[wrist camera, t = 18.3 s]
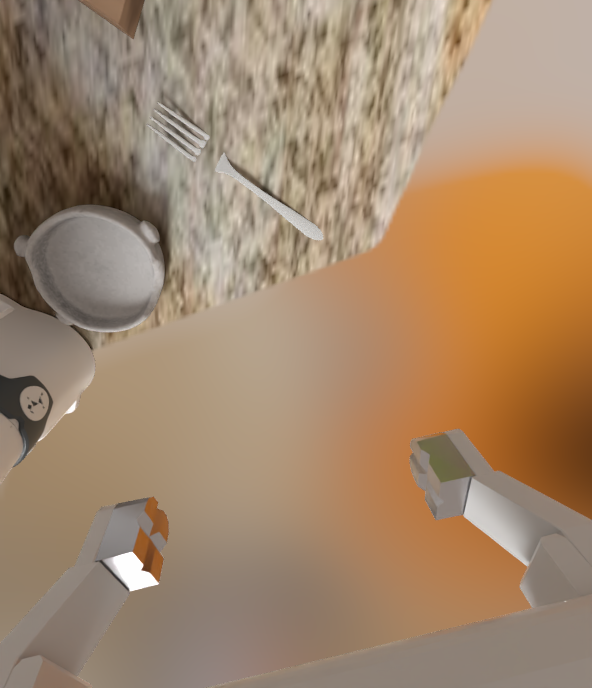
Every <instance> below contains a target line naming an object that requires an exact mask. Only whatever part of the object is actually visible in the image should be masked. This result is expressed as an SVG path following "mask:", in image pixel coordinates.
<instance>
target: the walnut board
mask: <svg viewBox="0 0 592 688" xmlns="http://www.w3.org/2000/svg"><path fill="white" fill-rule="evenodd" d="M79 1H80V2H82V3H83V4H84V5H86V6H87V7H89V8H90V9H91V10H93V11H94V12H96V13H97V14H98V15H100V16H101V17H103V18H104V19H106V20H107V21H108V22H110V23H111V24H113V25H114V26H115V27H117V28H118V29H120V30H121V31H122V32H124V33H125V34H127V35H128V36H130V37H131V38H132V39H134V35H135V32H136V28H137V25H138V21H139V18H140V14H141V11H142V7H143V4H144V1H145V0H79Z"/></svg>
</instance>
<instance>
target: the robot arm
mask: <svg viewBox="0 0 592 688" xmlns="http://www.w3.org/2000/svg"><path fill="white" fill-rule="evenodd" d="M94 374H95V359H94V356H93V353H92V351H91V349H90V347H89V346H88V344H87V343H86V341H85V340H84V339H83V338H82V337H81V336H80V335H79V334H78V333H77V332H76V331H75V330H74V329H73V328H71V327H70V326H69V325H66V324H63V323H62V322H60V321H59V320H58V319H57V318H55V317H52V316H50V315H48V314H45V313H42V312H38V311H35V310H31V309H28V308H25V307H23V306H21V305H19V304H18V303H16V302H15V301H13V300H11V299H10V298H8V297H6V296H4V295H2V294H0V484H1V482H2V481H3V480H4V478H5V477H6V475H7V474H8V473H9V471H10V470H11V468H13V467H15V466H16V465H18V464H19V463H20V462H21V461H22V460H23V459H24V458H25V456H27V455H28V454H29V452H31V451H32V449H33V448H34V447H35V445H36V442H37V441H40V440H41V439H43V438H44V437H45V436H46V435H47V434H48V433H49V431H50V430H51V429H52V428H53V427H54V426H55V425H56V424H57V422H58V421H59V420H60V419H61V418H62V417H63V415H64V414H66V413H71V412H73V411H74V410H75V409H76V408H77V407H78V405H79V401H80V395H81V393H82V392H83V391H84V390H85V389H86V388H87V387H88V386H89V384H90V383H91V381H92V379H93V377H94ZM410 447H411V449H412V451H413V453H412V455H411V456H410V467H411V471H412V474H413V477H414V479H415V481H416V483H417V485H418V487H420V488H421V489H423V490H425V491H426V492H425V501H426V502H427V504H428V506H429V508H430V510H431V512H432V514H433V516H434V518H435V519H436V520H439V519H443V518H448V517H454V516H459V515H464V517H465V518H467V519H468V520H469V521H470V522H472V523H473V524H474V525H475V526H477V527H478V528H479V529H480V530H482V531H483V532H484V533H486V534H487V535H488V536H489V537H491V538H492V539H493V540H495V541H496V542H497V543H498V544H500V545H501V546H502V547H503V548H505V549H506V550H507V551H508V552H510V553H511V554H512V555H514V556H515V557H516V558H517V559H519V560H520V561H521V562H523V563H524V564H525V565H526V566H527V569H526V572H525V574H524V576H523V578H522V580H521V583H520V589H521V590H522V592H523V593H524V595H525V597H526V598H527V600H528V602H529V603H530V605H531V607H532V609H528V610H523V611H519V612H515V613H511V614H507V615H503V616H499V617H494V618H491V619H486V620H482V621H478V622H474V623H470V624H466V625H462V626H458V627H453V628H449V629H446V630H441V631H437V632H433V633H429V634H425V635H420V636H416V637H413V638H408V639H404V640H400V641H396V642H392V643H388V644H384V645H379V646H375V647H371V648H367V649H363V650H359V651H355V652H351V653H346V654H342V655H338V656H334V657H330V658H326V659H322V660H318V661H314V662H310V663H305V664H301V665H297V666H293V667H290V668H285V669H281V670H277V671H273V672H269V673H264V674H260V675H256V676H252V677H248V678H244V679H240V680H236V681H232V682H227V683H223V684H219V685H215V686H211V687H207V688H592V520H590V519H589V518H586V517H585V516H583V515H581V514H579V513H577V512H575V511H573V510H572V509H570V508H568V507H566V506H564V505H562V504H560V503H559V502H557V501H555V500H553V499H551V498H549V497H547V496H546V495H544V494H542V493H540V492H538V491H536V490H534V489H533V488H530V487H529V486H527V485H525V484H523V483H521V482H519V481H517V480H515V479H514V478H512V477H510V476H508V475H506V474H504V473H503V472H501V471H496V472H494V471H493V469H492V468H491V467H490V465H489V464H488V463H487V461H486V460H485V459H484V458H483V456H482V455H481V454H480V453H479V451H478V450H477V449H476V448H475V446H474V445H473V444H472V443H471V441H470V440H469V439H468V438H467V437H466V435H465V434H464V432H463V431H461V430H460V429H455V430H451V431H446V432H440V433H435V434H431V435H427V436H423V437H419V438H415V439H412V440H411V443H410ZM157 506H158V501H157V500H156V499H155V498H154V497H149V498H143V499H138V500H133V501H128V502H123V503H118V504H113V505H108V506H104V507H101V508H100V510H99V511H98V512H97V513H96V515H95V518H94V520H93V523H92V525H91V527H90V530H89V532H88V535H87V537H86V540H85V542H84V545H83V547H82V549H81V552H80V554H79V556H78V559H77V561H76V564H75V566H74V567H71V568H68V570H67V571H66V572H65V573H64V574H63V575H62V576H61V577H60V578H59V579H58V580H57V582H56V583H55V584H54V585H53V586H52V587H51V588H50V589H49V590H48V591H47V593H46V594H45V595H44V596H43V597H42V598H41V599H40V600H39V601H38V602H37V603H36V604H35V606H34V607H33V608H32V609H31V610H30V611H29V612H28V613H27V614H26V615H25V617H24V618H23V619H22V620H21V621H20V622H19V623H18V624H17V625H16V626H15V627H14V628H13V630H12V631H11V632H10V633H9V634H8V635H7V636H6V637H5V638H4V639H3V640H2V642H1V643H0V688H92V686H91V684H89V683H88V682H86V681H84V680H82V679H81V678H79V677H77V676H78V674H79V673H80V671H81V670H82V668H83V666H84V665H85V663H86V662H87V660H88V659H89V657H90V656H91V654H92V652H93V651H94V649H95V648H96V646H97V644H98V643H99V641H100V640H101V638H102V637H103V635H104V633H105V632H106V630H107V629H108V627H109V626H110V624H111V622H112V621H113V619H114V618H115V616H116V614H117V613H118V611H119V609H120V608H121V606H122V605H123V603H124V602H125V600H126V599H127V597H128V596H129V594H130V592H129V591H132V590H137V589H141V588H145V587H148V586H152V585H156V584H159V581H160V576H161V571H162V565H163V560H164V558H163V556H162V554H161V550H162V549H163V548H164V546H165V545H166V544H167V540H168V535H169V522H168V519H167V515H166V514H165V512H164V511H163V510H160V509H158V508H157Z"/></svg>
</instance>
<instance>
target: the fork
mask: <svg viewBox="0 0 592 688" xmlns="http://www.w3.org/2000/svg"><path fill="white" fill-rule="evenodd" d="M157 104H159V105H160V106H161V107H162V108H164V109H165V110H166V111H168V112H169V113H170V114H171V115H173V116H174V117H176V118H177V119H178V120H180V121H181V122H183V123H184V124H186V125H187V126H189V127H190V128H192V129H193V130H194V131H196V132H197V133H199V134H200V135H202V136H203V137H204V139H206V140H207V141H208V139H209V138H210V136H209V135H208V134H206V133H205V132H204V131H203V130H201V129H200V128H198V127H196V126H195V125H194V124H192V123H191V122H189V121H188V120H186V119H185V118H183V117H182V116H180V115H179V114H177V113H176V112H174V111H172V110H171V109H169V108H168V107H166V106H164V105H163V104H161V103H160V102H157ZM153 111H155V112H156V113H157V114H158V115H160V116H161V117H162V118H163V119H165V120H166V121H167V122H168V123H170V124H171V125H173V126H174V127H175V128H177V129H178V130H180V131H181V132H182V133H184V134H185V135H186V136H188V137H189V138H191V139H192V140H193V141H195V142H196V143H198V144H199V146H200V147H202V148H203V147H204V146H205V144H206V142H205V141H204V140H200V139H199V138H197V137H196V136H194V135H193V134H191V133H190V132H188V131H187V130H186V129H184V128H183V127H181V126H180V125H178V124H177V123H175V122H174V121H173V120H171V119H170V118H168V117H166V116H165V115H163V114H162V113H160V112H159V111H157V110H156V109H154V110H153ZM150 118H151V119H152V120H153V121H154V122H155V123H157V124H158V125H159V126H160V127H162V128H163V129H164V130H165V131H167V132H168V133H169V134H171V135H172V136H173V137H175V138H176V139H177V140H179V141H180V142H182V143H183V144H184V145H186V146H187V147H188V148H189V149H191V150H192V151H193V152H195V154H196V155H199V154H200V152H201V150H200V149H199V148H196V147H194V146H193V145H192V144H190V143H189V142H187V141H186V140H185V139H183V138H182V137H180V136H179V135H178V134H176V133H175V132H173V131H172V130H171V129H169V128H168V127H166V126H165V125H163V124H162V123H160V122H159V121H157V120H156V119H154V118H153V117H151V116H150ZM147 126H148V127H149V128H151V129H152V130H153V131H154V132H155V133H157V134H158V135H159V136H160V137H162V138H163V139H164V140H165V141H167V142H168V143H169V144H171V145H172V146H173V147H175V148H176V149H177V150H179V151H180V152H181V153H182V154H184V155H185V156H186V157H188V158H189V159H191V160H192V161H194V162H195V161H196V158H195V157H194V156H192V155H191V154H189V153H188V152H187V151H185V150H184V149H183V148H181V147H180V146H179V145H177V144H176V143H175V142H173V141H172V140H171V139H169V138H168V137H167V136H165V135H164V134H163V133H161V132H160V131H158V130H157V129H155V128H153V127H152V126H150V125H149V124H147ZM215 172H219V173H225V174H228V175H230V176H232V177H233V178H235V179H236V180H238V181H239V182H240V183H242V184H243V185H245V186H246V187H247V188H249V189H250V190H251V191H253V192H254V193H255V194H256V195H258V196H259V197H260V198H262V199H263V200H264V201H265V202H267V203H268V204H269V205H270V206H271V207H273V208H274V209H275V210H276V211H277V212H278V213H280V214H281V215H282V216H283V217H284V218H285V219H287V220H288V221H289V222H290V223H291V224H293V225H294V226H295V227H296V228H298V229H299V230H300V231H301V232H302V233H304V234H305V235H306V236H308V237H310V238H312V239H315V240H322V239H323V234H322V232H321V230H320V229H319V228H318V227H317V226H316V225H315V224H313V223H312V222H310V221H309V220H307V219H306V218H304V217H303V216H301V215H300V214H298V213H297V212H295V211H294V210H292V209H291V208H289V207H287V206H286V205H284V204H282V203H281V202H279V201H278V200H276V199H274V198H273V197H271V196H270V195H268V194H267V193H265V192H264V191H262V190H261V189H259V188H258V187H256V186H255V185H253V184H252V183H251V182H249V181H248V180H247V179H245V178H244V177H243V176H241V175H240V174H239V173H238V172H237V171H236V170H235V169H234V168H233V167H232V166H231V164H230V163H229V161H228V158H227V156H226V155H225V153H223V154H222V156H221V158H220V160H219V162H218V164H217V166H216V169H215Z"/></svg>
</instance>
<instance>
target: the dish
mask: <svg viewBox="0 0 592 688" xmlns="http://www.w3.org/2000/svg"><path fill="white" fill-rule="evenodd" d="M159 240H160V236H159V233H158V230H157V229H156V228H155V226H153V225H152V224H151V223H149V222H148V221H145V220H144V221H142V222H140V221H139V220H138V219H136V218H135V217H133V216H132V215H130V214H128V213H126V212H123V211H121V210H118V209H115V208H112V207H107V206H102V205H78V206H74V207H70V208H67V209H65V210H62V211H60V212H58V213H56V214H54V215H53V216H51V217H50V218H48V219H47V220H45V221H44V222H43V223H42V224H40V225H39V226H38V227H37V229H36V230H35V231H34V232H33V233H32V235H31V236H30V237H29V236H27V235H22V236H19V237H18V238H17V239H16V240H15V242H14V249H15V252H16V254H17V255H18V256H20V257H25V260H26V262H27V264H28V266H29V269H30V271H31V274H32V277H33V280H34V284H35V287H36V289H37V290H38V292H39V293H40V294H41V296H42V298H43V299H44V300H45V301H46V303H47V304H48V305H49V306H50V307H51V308H52V309H53V310H55V311H56V314H55V315H56V317H57V318H58V320H59V321H60V322H62V323H63V324H66V325H73V324H74V325H76V326H78V327H81V328H83V329H87V330H91V331H97V332H118V331H124V330H128V329H131V328H133V327H135V326H137V325H139V324H141V323H142V322H143V321H144V320H146V319H147V318H148V316H149V315H150V314H151V312H152V311H153V309H154V307H155V306H156V304H157V301H158V299H159V297H160V294H161V291H162V288H163V284H164V277H165V266H164V258H163V254H162V250H161V247H160V245H159V243H158V242H159Z"/></svg>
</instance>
